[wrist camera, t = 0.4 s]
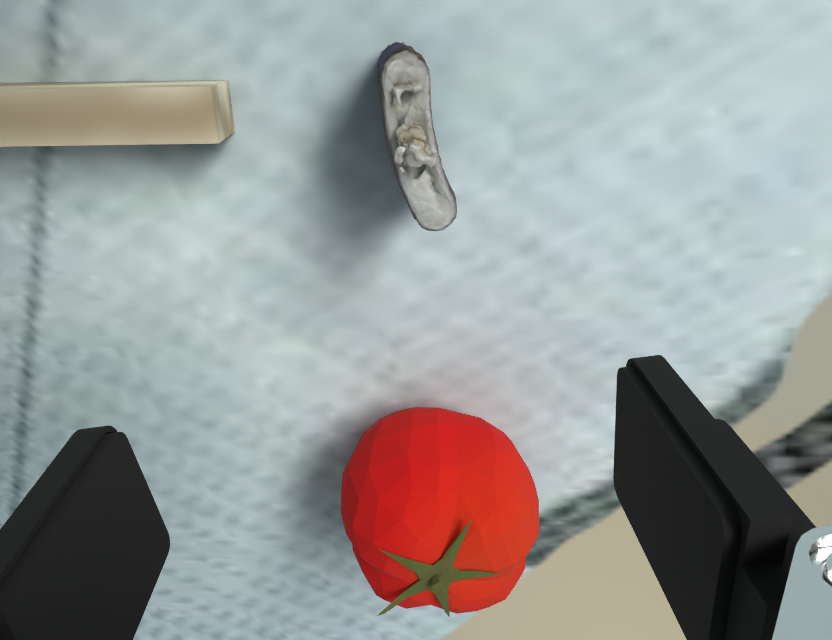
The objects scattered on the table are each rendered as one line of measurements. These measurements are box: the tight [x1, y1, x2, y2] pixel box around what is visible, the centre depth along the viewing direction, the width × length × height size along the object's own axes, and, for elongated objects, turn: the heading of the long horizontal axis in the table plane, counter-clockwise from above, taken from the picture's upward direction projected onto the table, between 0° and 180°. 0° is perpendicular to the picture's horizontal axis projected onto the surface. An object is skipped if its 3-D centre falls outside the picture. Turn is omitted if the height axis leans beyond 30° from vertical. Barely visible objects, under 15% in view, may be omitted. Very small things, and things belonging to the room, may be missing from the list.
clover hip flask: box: [378, 42, 457, 231], centre depth 33 cm, size 9×3×11 cm, turn 13°
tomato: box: [341, 407, 539, 616], centre depth 43 cm, size 16×14×14 cm
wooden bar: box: [0, 81, 235, 147], centre depth 34 cm, size 3×22×4 cm, turn 90°
